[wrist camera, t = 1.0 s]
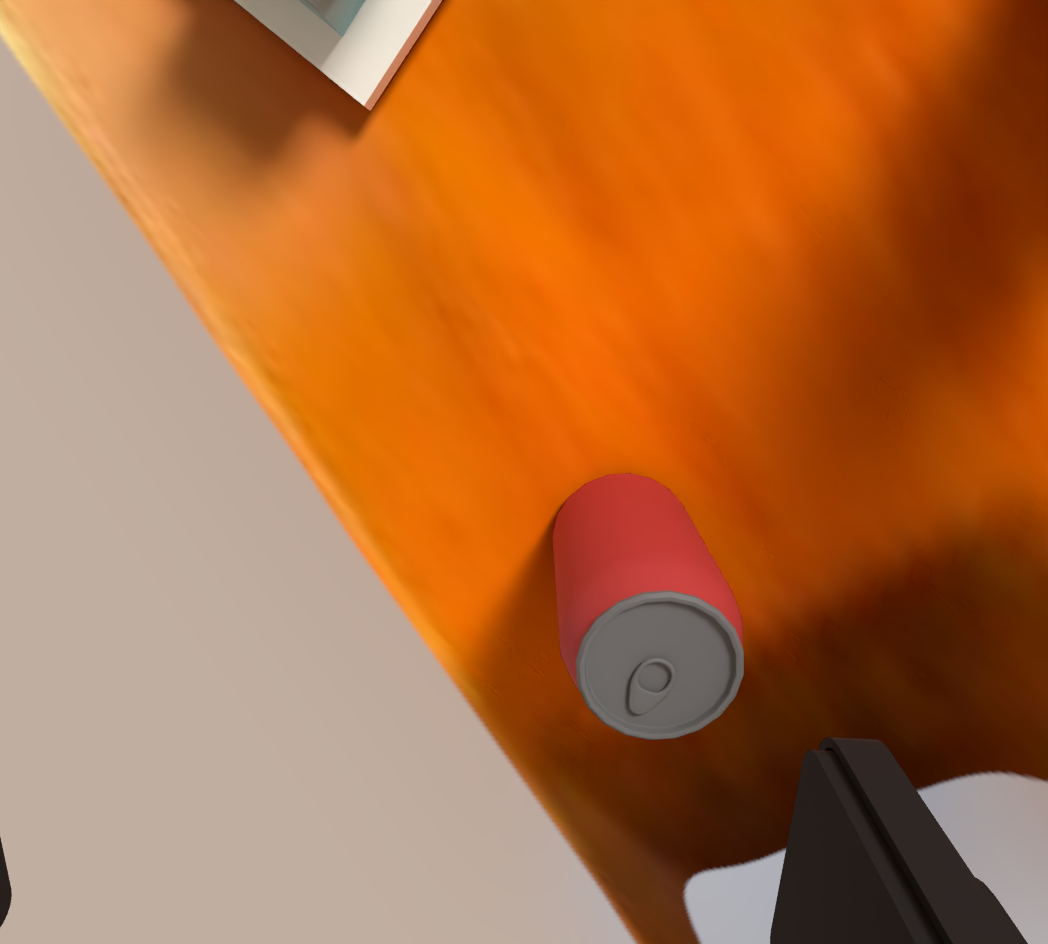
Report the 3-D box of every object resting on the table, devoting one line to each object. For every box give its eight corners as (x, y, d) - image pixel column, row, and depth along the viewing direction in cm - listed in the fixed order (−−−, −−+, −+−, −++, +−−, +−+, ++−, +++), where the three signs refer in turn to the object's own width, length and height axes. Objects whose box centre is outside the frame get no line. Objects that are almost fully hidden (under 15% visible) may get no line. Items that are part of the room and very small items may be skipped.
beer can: (530, 568, 37) (529, 716, 25) (584, 448, 35) (610, 549, 23) (652, 614, 37) (706, 779, 26) (711, 499, 35) (797, 621, 24)
